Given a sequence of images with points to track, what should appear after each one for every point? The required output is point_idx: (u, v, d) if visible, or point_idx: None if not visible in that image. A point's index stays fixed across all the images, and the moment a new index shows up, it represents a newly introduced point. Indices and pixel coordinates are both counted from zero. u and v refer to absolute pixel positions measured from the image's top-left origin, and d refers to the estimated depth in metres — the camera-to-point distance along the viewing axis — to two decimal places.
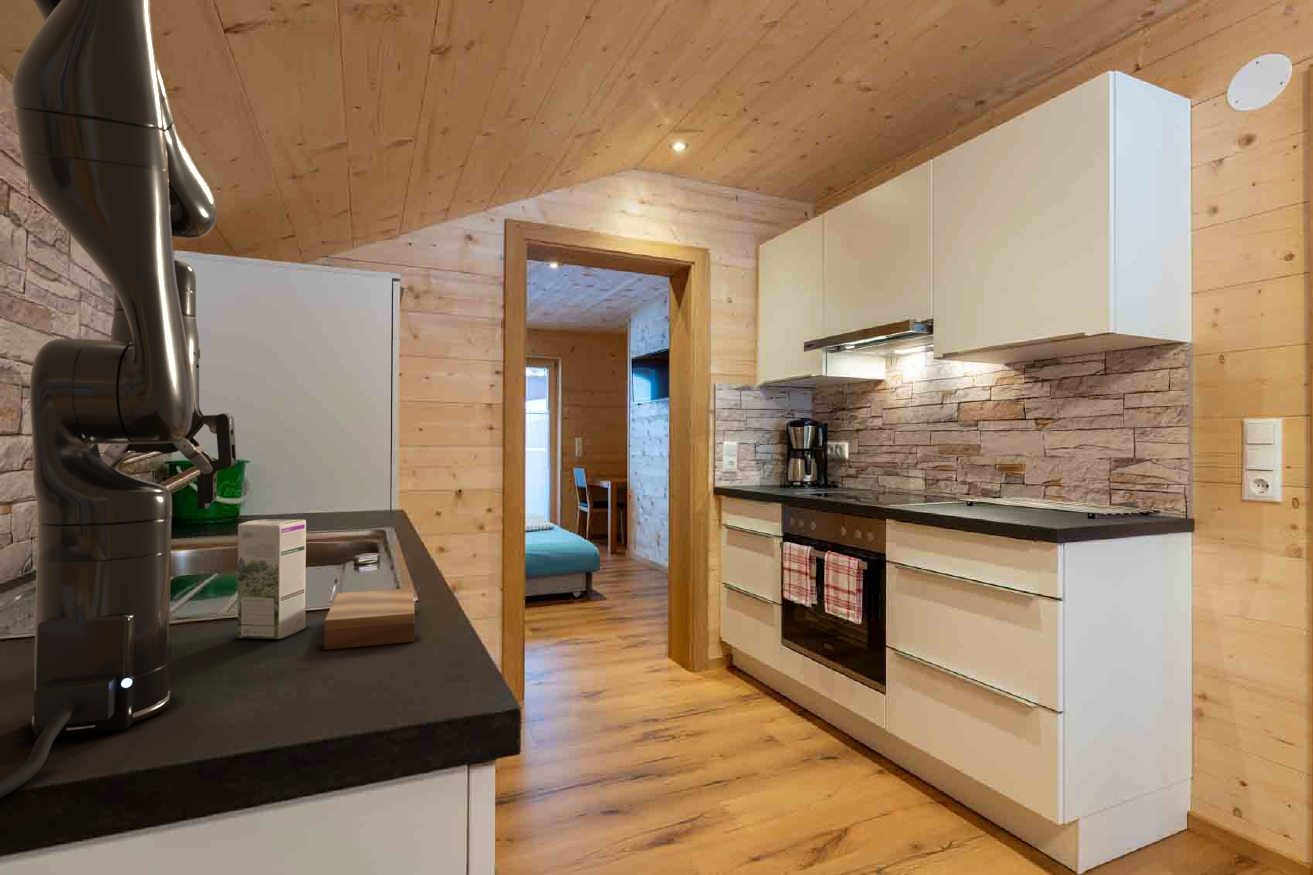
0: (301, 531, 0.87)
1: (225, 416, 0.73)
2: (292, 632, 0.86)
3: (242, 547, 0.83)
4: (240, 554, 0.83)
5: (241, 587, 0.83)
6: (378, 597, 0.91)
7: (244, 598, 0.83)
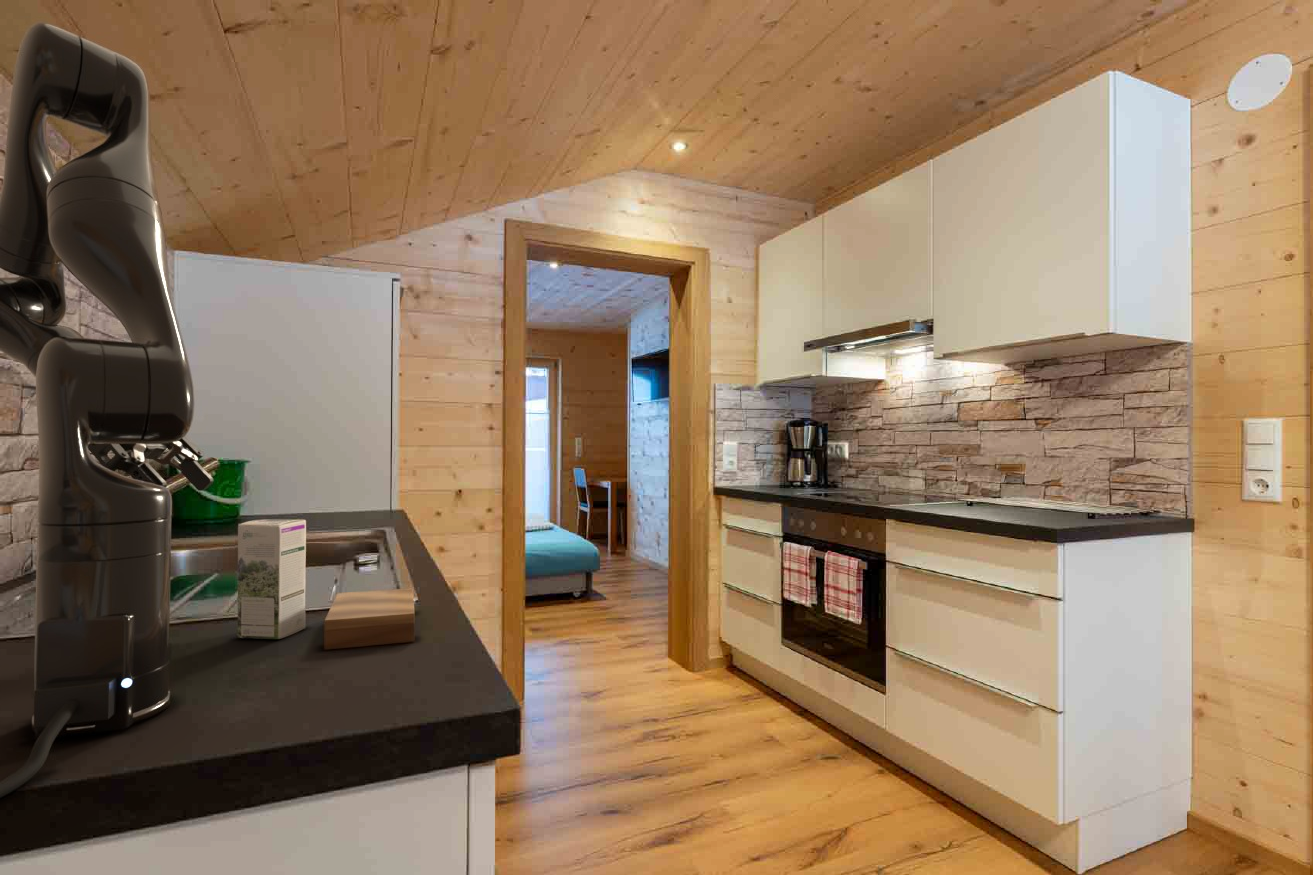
0: (301, 531, 0.87)
1: None
2: (292, 632, 0.86)
3: (242, 547, 0.83)
4: (240, 553, 0.83)
5: (241, 587, 0.83)
6: (378, 597, 0.91)
7: (244, 598, 0.83)
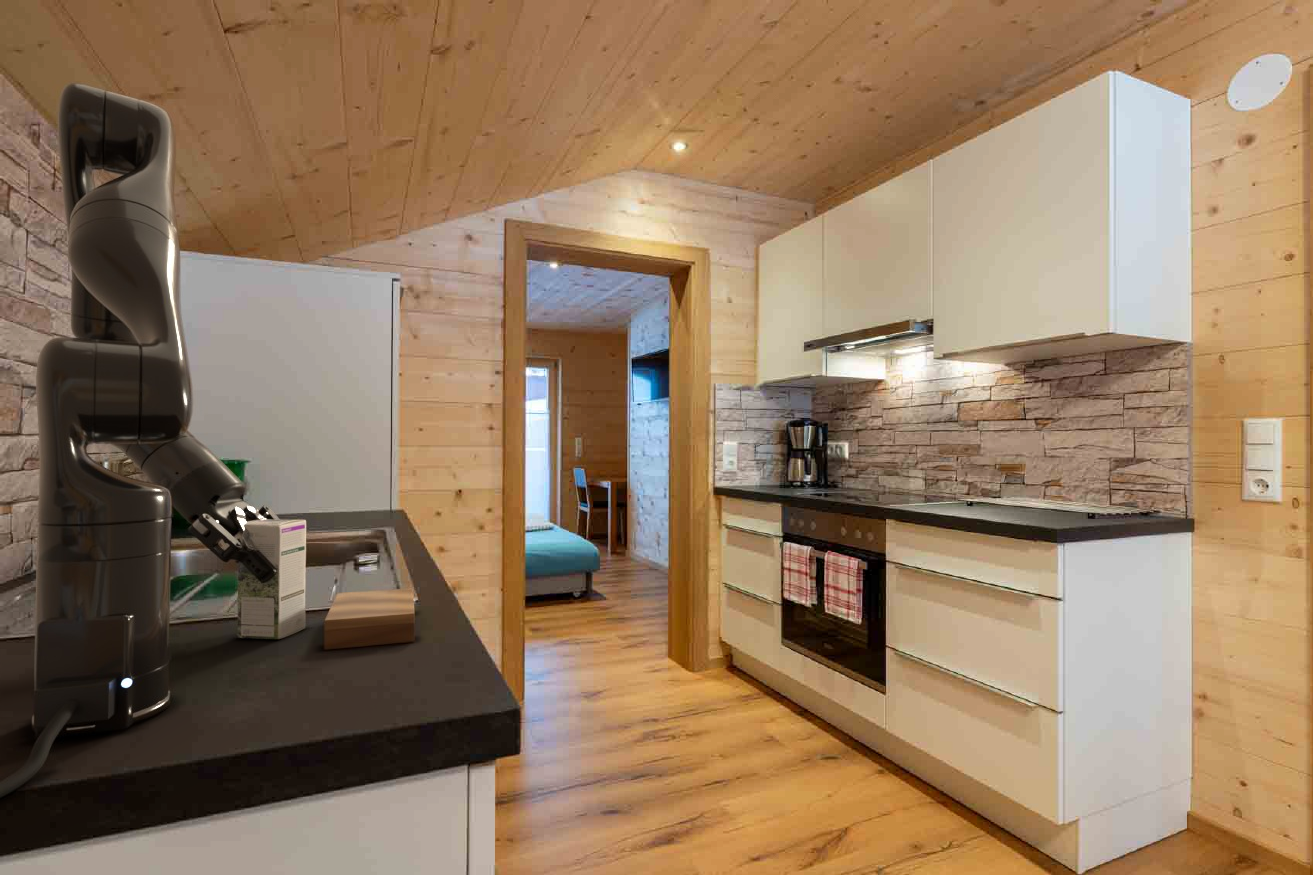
0: (301, 531, 0.87)
1: (267, 506, 0.93)
2: (292, 632, 0.86)
3: None
4: None
5: (241, 587, 0.83)
6: (378, 597, 0.91)
7: (244, 598, 0.83)
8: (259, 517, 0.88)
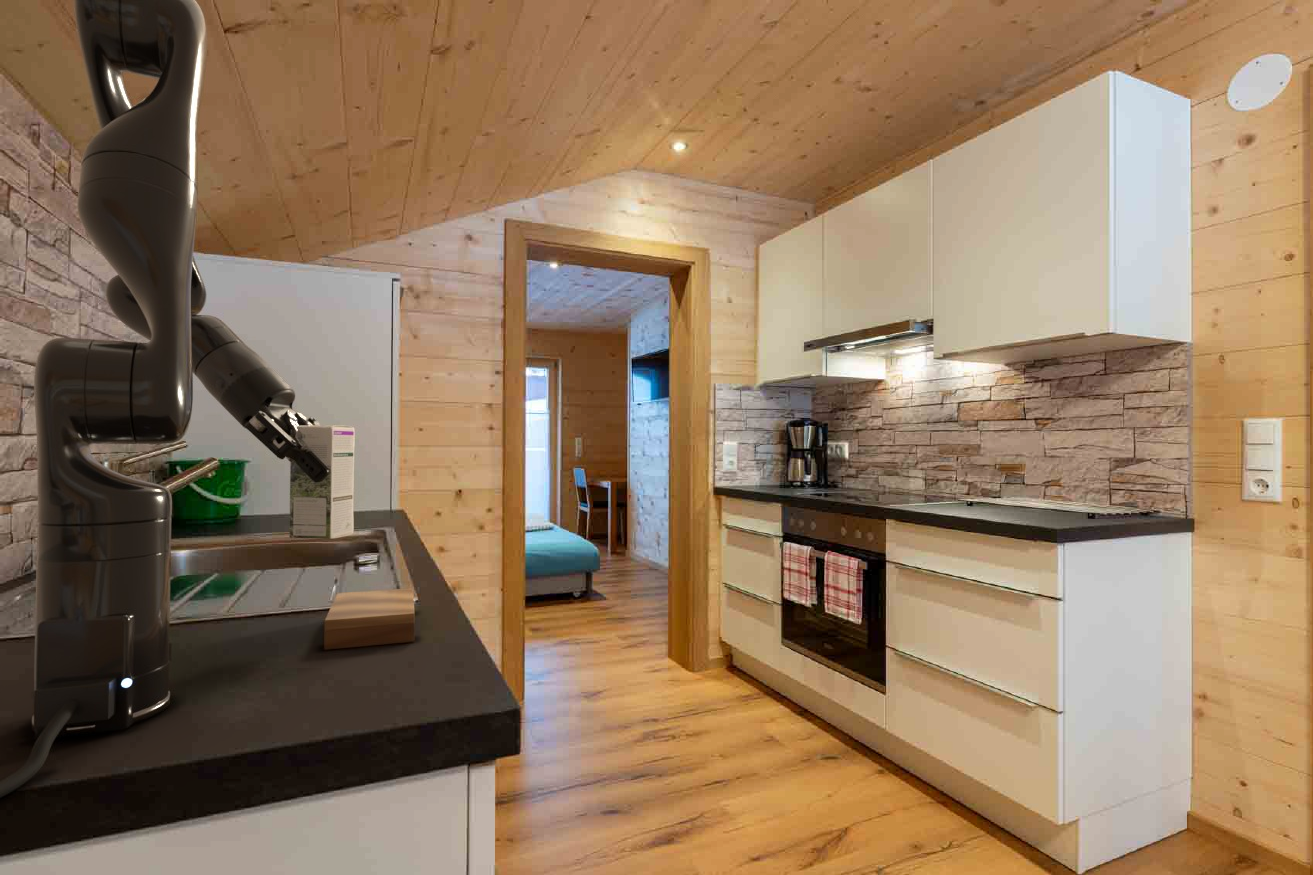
0: (350, 437, 0.89)
1: None
2: (342, 535, 0.87)
3: None
4: None
5: (293, 488, 0.85)
6: (378, 597, 0.91)
7: (296, 498, 0.85)
8: (308, 423, 0.89)
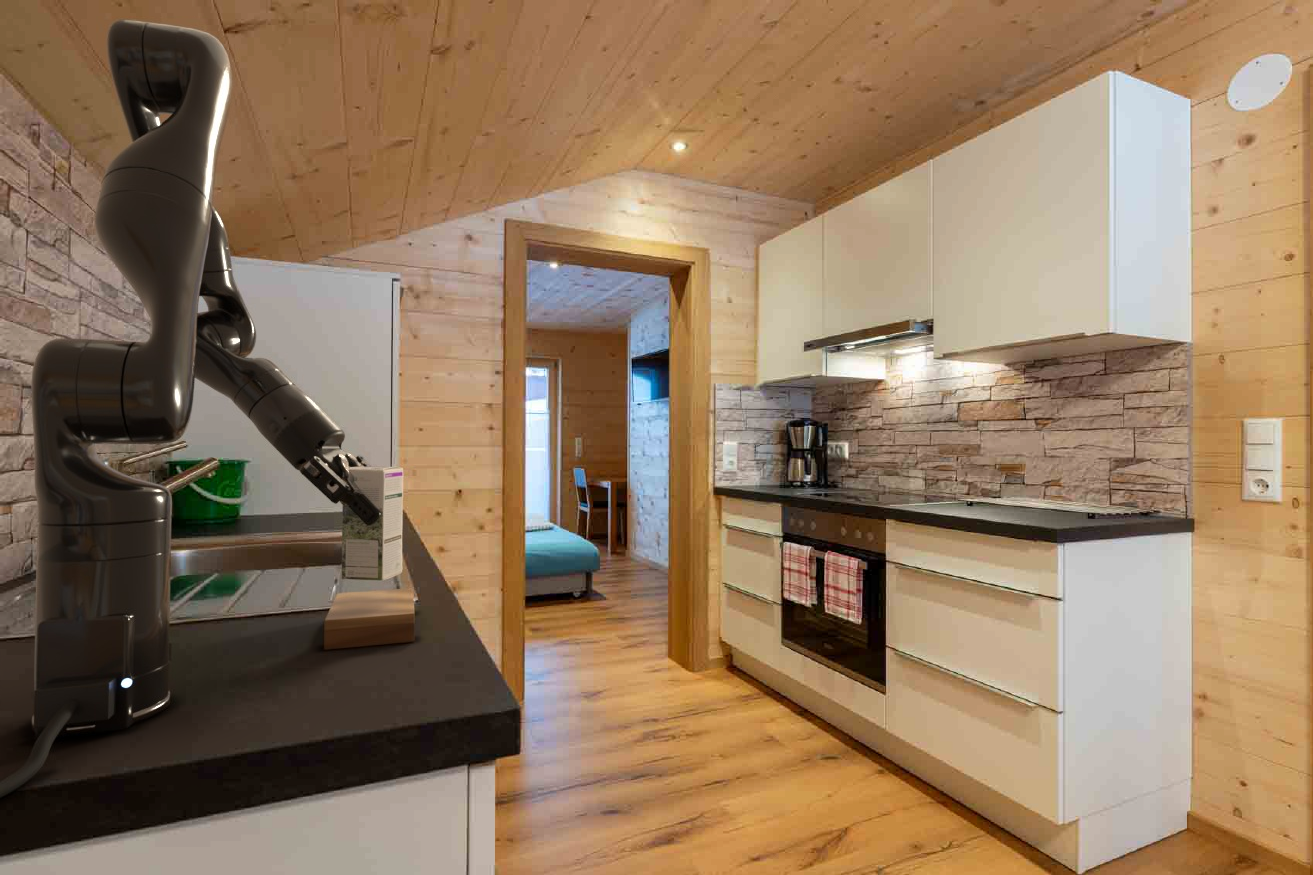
0: (400, 478, 0.90)
1: (361, 456, 0.95)
2: (392, 575, 0.88)
3: None
4: None
5: (346, 530, 0.86)
6: (378, 597, 0.91)
7: (348, 540, 0.86)
8: (358, 464, 0.90)
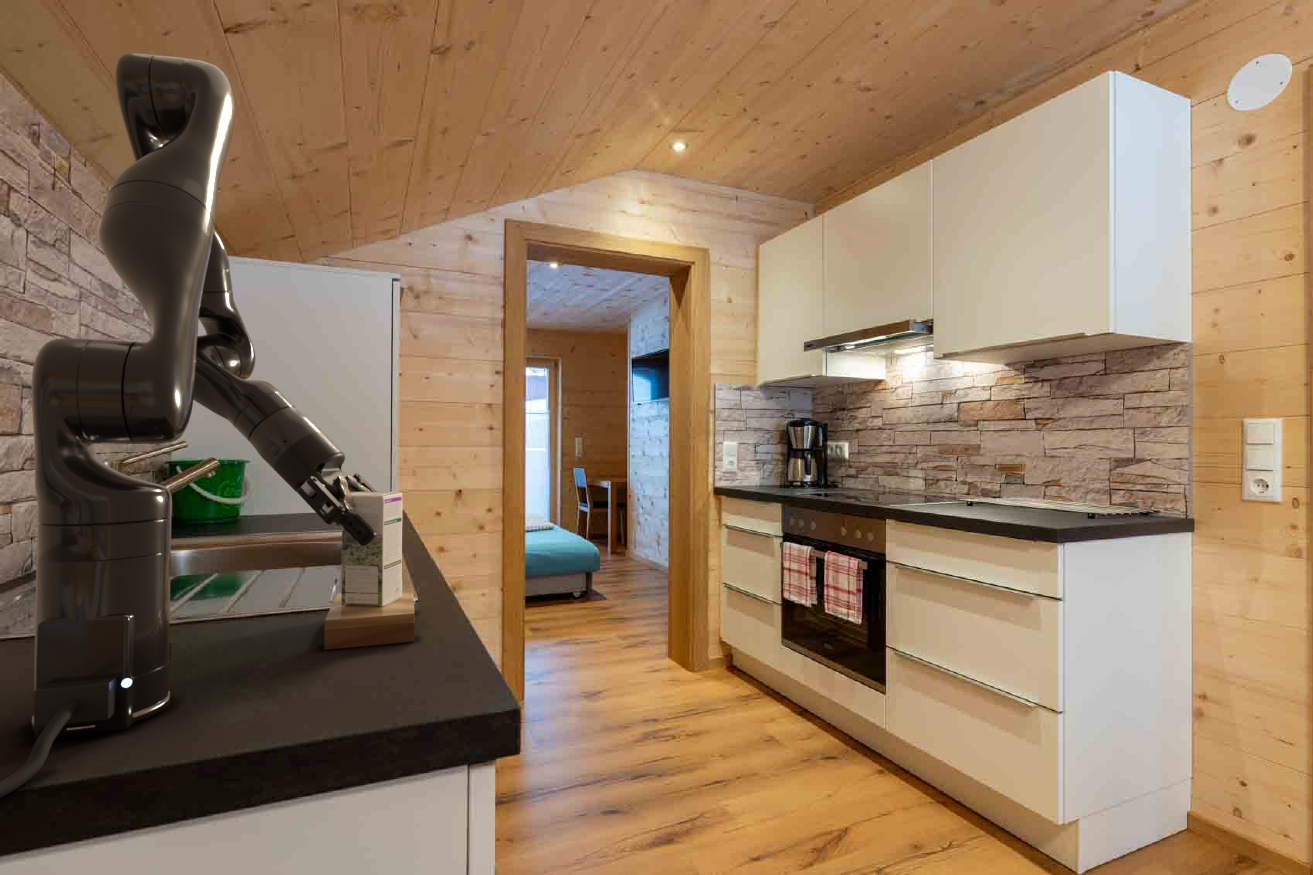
0: (399, 503, 0.90)
1: (358, 474, 0.95)
2: (392, 600, 0.88)
3: None
4: None
5: (345, 556, 0.86)
6: None
7: (348, 567, 0.86)
8: (358, 485, 0.91)
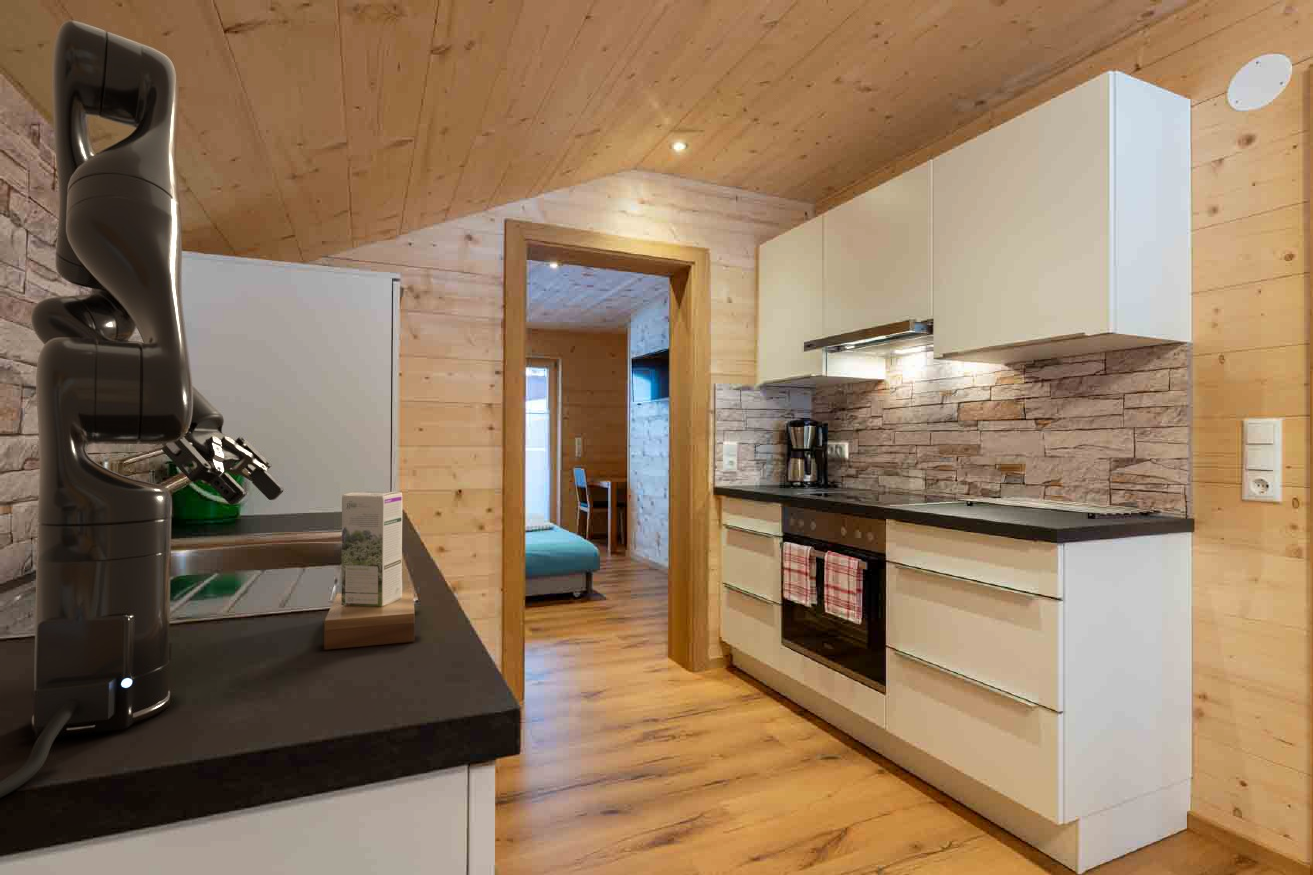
0: (399, 503, 0.90)
1: (242, 437, 0.95)
2: (392, 600, 0.88)
3: (346, 517, 0.86)
4: (344, 523, 0.86)
5: (345, 556, 0.86)
6: None
7: (348, 567, 0.86)
8: (237, 447, 0.90)
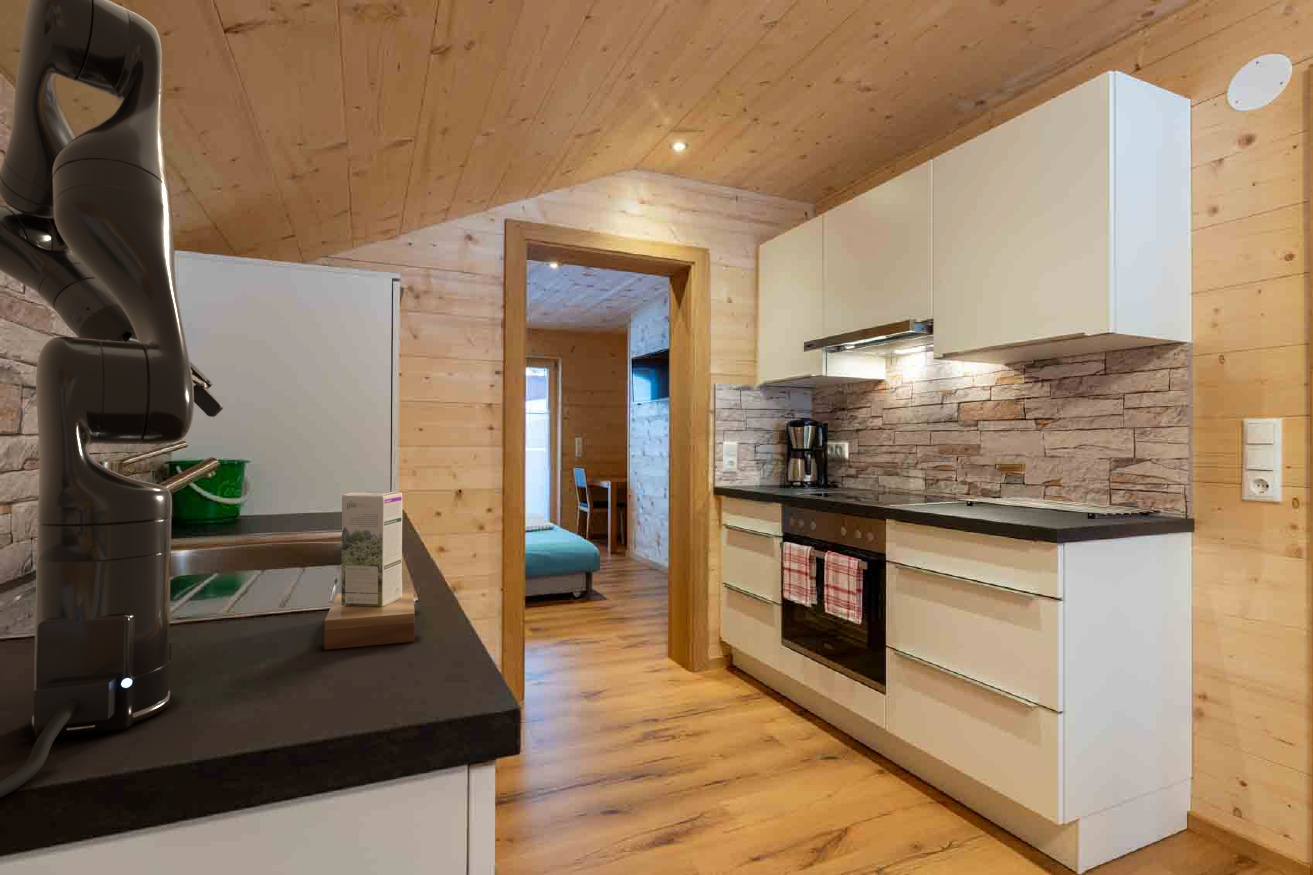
0: (399, 503, 0.90)
1: None
2: (392, 600, 0.88)
3: (346, 517, 0.86)
4: (344, 523, 0.86)
5: (345, 556, 0.86)
6: None
7: (348, 567, 0.86)
8: None
